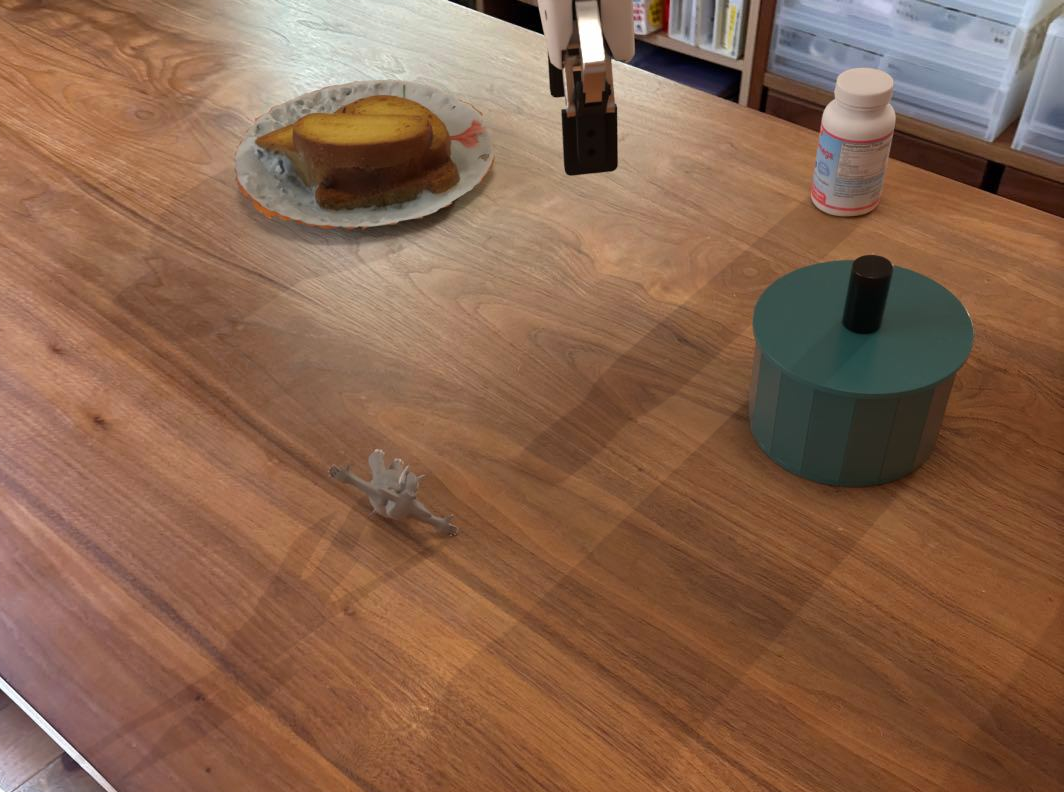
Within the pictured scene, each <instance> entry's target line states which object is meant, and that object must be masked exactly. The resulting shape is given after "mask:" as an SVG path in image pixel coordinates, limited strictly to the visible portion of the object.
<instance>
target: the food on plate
mask: <svg viewBox="0 0 1064 792" xmlns="http://www.w3.org/2000/svg"><path fill="white" fill-rule="evenodd" d="M483 116H484V114H483V112H481V111H480V110H478V109H477V108H476V107H475V106H474V105H473V104H471V103H469V102H467V101H462V100H461V99H460V98H457V97H456V96H454V95H453V94H452V93H449V92H447V91H444V90H441V89H439V88H437V87H435V86H433V85H430V84H421V83H418V82H412V81H408V80H396V79H392V78H391V79H371V80H361V81H358V80H355V81H353V82H350V83H349V82H348V83H343V84H334V85H329V86H328V85H327V86H325V87H322V88H320V89H317V90H314V91H311V92H306V93H305V92H304V93H303V94H300V95H298V96H296V97H294V98H292V99H290V100H287V101H285V102H283V103H280V104H277V105H275V106H273V107H271V108H270V110H269V111H268V112H266V113H264V114H262V115H260V116H258V117H256V118H254V124H253V125H251V126H250V127H249V128H248V129H247V130H246V131H245V132H244V134H243V135H244V136H243V140H242V141H240V142H239V143H238V145H237V146H236V151H235V154H234V157H235V158H234V162H235V165H234V171H235V175H236V177H235V181H237V186H238V189H239V190H240V191H241V192H242V194H243V196H244V197H248V198H249V199H251V201H252V204H253V207H254V209H255V210H257V211H258V212H259V213H261V214H263V215H264V217H265V218H266V219H269V220H272V217H276V216H277V217H278V218H279V219H280V220H282V221H296V224H297V225H300V224H303V225H306V226H312V227H319V228H321V229H323V230H327V229H338V228H340V227H341V228H343V229H345V230H349V231H351V230H353V229H357V228H359V227H361V231H363V230H365V229H367V228H369V227H370V228H371V227H379V226H386V225H387V226H388V225H389V226H393V225H397V224H399V222H403V221H408V220H413V219H418V220H419V219H423V218H424V217H425V216H429V215H431V214H434V213H436V212H438V211H439V210H440V209H443V208H447V207H449V206H451V205H452V204H453V201H456V200H457V199H458V198H460V197H462V196H463V195H465V194H467V192H470V191H473V188H474V187H475V186H477V185H479V184H482V183H483V181H484V180H485V177H486V175H487V174H489V171H490V170H491V169H492V168H493V166H494V162H495V160H496V157H495V156H494V147H493V146H492V142H493V138H492V137H491V136H490V134H489V130H488V128H487V126H486V125H485V122H484V121H483V118H482V117H483ZM483 155H488V157H487V158H486V159H483V158H482V157H481V156H483Z"/></svg>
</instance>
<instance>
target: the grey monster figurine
mask: <svg viewBox="0 0 1064 792" xmlns="http://www.w3.org/2000/svg"><path fill="white" fill-rule="evenodd" d="M385 454H386V453H385V452H384V451H383V449H379V448H376V449H374V450H373V451H372V452H371V453H370V455H369V456H368V460H367V461H368V468H369V469H370V471H371V474H372V475H371V476H372V478H371V480H370V481H366V480H364V479H362V478H360V477H358V476H356V475H355V474H354V473H353V472H352V471H351V469H350V466H351V465H350V460H347V461H346V465H345V468H344V469H343V468H341V467H339V466H337V465H336V464H334V463H331V464H332V465H331V466H328V469H327V473H328V476H329V478H330V477H331V478H333V479H335V480H336V481H338V482H340V483H342V484H345V485H347V484H348V485H350V486H353V487H354V488H356V489H358V491H360V492H362V493H363V494H365V495H366V496H368V501H369V503H370V505H371V506H372V508H373V510H372V511H371V512H370V513H369V514H368V515H367V518H369V519H370V518H372V517H373V516H375V515H377V514H379V515H381V516H382V517H385V518H387V519H392V520H395V521H398V522H402V521H405V520H406V519H411V520H414V521H417V522H419V523H423V524H427V525H429V526H431V527H433V528H434V529H435V530H436V531H437V532H439V533H441V534H445V535H447V536H450V537H452V536H456V535H457V534H458V533H459V529H460V527H459V526H457V525H454V524H452V523H450V522H451V520H452V519H453V518H454V514H453V513H451V514H449V515H447V516H446V517H438V516H436V515H434V514H432V512H431V511H429V510H428V509H427V508H426V506H425V505H424V504H423V503H421V502H420V501H419V500H417V497H418V496H417V495H418V494H417V493H418V488H419V484H420V483H421V481H422V480H423V479H425V478H426V477H427V474H421V475H419V476H417V475H416V473H414V472H412V471H410V469H411V467H412V466H411V465H410V464H408V465H406V467H405V468H404V464H405V463H404V461H403V460H402V459H401V458H394V459H393V460H392V461H391V462H390V463H389V464H388V466H386V461H385V456H386V455H385Z"/></svg>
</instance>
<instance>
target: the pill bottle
mask: <svg viewBox="0 0 1064 792" xmlns="http://www.w3.org/2000/svg"><path fill="white" fill-rule="evenodd" d="M894 84H895V82H894V79H893V77H892V76H891V75H890V74H888V73H887V72H885V71H883V70H881V69H877V68H873V67H855V68H851V69H847V70H845V71H843V72H841V73H840V74H839V75H838V76H837V78H836V82H835V88H834V92H833V94H834V99H833V100H831V101H830V102H828V104H827V105H826V107H825V108H824V110H823V113H822V115H821V121H820V129H819V135H818V142H817V148H816V149H817V151H816V156H815V162H814V169H813V175H812V183H811V189H810V198H811V201H812V203H813V204H814V205H815V207H816V208H818V209H819V210H820V211H822V212H824V213H826V214H828V215H832V216H835V217H856V216H857V217H858V216H862V215H866V214H868V213H870V212H871V211H873V210H874V209H875V208H877V206H879V205H878V204H879V203H880V201H881V196H882V193H883V187H884V183H885V177H886V172H887V167H888V163H889V158H890V152H891V148H892V147H891V146H892V141H893V138H894V137H893V136H894V133H895V125H896V121H897V119H896V118H897V117H896V116H897V115H896V111H895V109H894V107H893V106H892V104H891V103H890V102H891V99H893V91H894Z"/></svg>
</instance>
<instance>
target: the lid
mask: <svg viewBox="0 0 1064 792" xmlns="http://www.w3.org/2000/svg"><path fill="white" fill-rule="evenodd" d="M751 327H752V334H753V337H754V341H755V343H757V345H758V347H759V349H760V351H761V352H762V353H763V355H764V356H765V357H766V359H767V360H768V361H769V362H770V363H771V364H772V365H773V366H775V367H776V368H777V369H778V370H780V371H781V372H782V373H784V374H785V375H787V376H788V377H790V378H792V379H793V380H795V381H797V382H799V383H801V384H803V385H806V386H808V387H811V388H813V389H816V390H819V391H822V392H826V393H829V394H833V395H838V396H843V397H849V398H858V399H891V398H899V397H905V396H911V395H914V394H918V393H922V392H925V391H927V390H930V389H932V388H935V387H937V386H939V385H940V384H942V383H944V382H946V381H947V380H949V379H950V378H951V377H953V376H954V375H955V374H956V375H957V373H958V372H959V371H960V370H961V369H962V368H963V367H964V366H965V364H966V363H967V361H968V360H969V358H970V355H971V353H972V349H973V346H974V341H975V340H974V339H975V328H974V323H973V319H972V317H971V316H970V313H969V312H968V310H967V308H966V307H965V305H964V304H963V303H962V301H961V300H960V299H959V298H958V297H957V296H956V295H955V294H954V293H952V292H951V291H950V290H949V289H948V288H946V287H945V286H944V285H942V284H941V283H939V282H937V281H936V280H934V279H932V278H930V277H928V276H926V275H924V274H923V273H919V272H917V271H915V270H912V269H909V268H906V267H902V266H899V265H895V264H893V263H892V261H891V260H889V259H888V258H886V257H884V256H881V255H878V254H864V255H861V256H859V257H858V256H857V258H855V259H840V260H829V261H823V262H818V263H814V264H809V265H806V266H803V267H800V268H797V269H794V270H792V271H790V272H788V273H786V274H784V275H782V276H780V277H778V278H777V279H776V280H774V281H773V282H772V283H771V284H770V285H768V286H767V287H766V289H765V290H763V292H762V293H761V294H760V296H759V298H758V299H757V300H756V303H755V306H754V309H753V315H752V322H751Z"/></svg>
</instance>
